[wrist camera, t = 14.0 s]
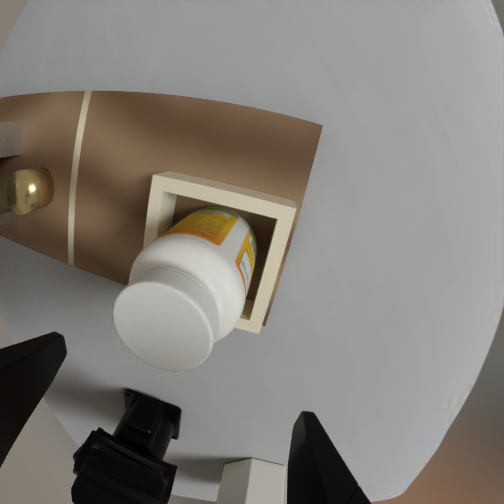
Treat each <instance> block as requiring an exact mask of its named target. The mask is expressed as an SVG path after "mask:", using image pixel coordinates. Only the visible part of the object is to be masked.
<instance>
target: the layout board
mask: <svg viewBox="0 0 504 504" xmlns="http://www.w3.org/2000/svg"><path fill="white" fill-rule="evenodd" d="M21 121H25V126H24V133H23V141H22V150H21V155H15V156H9V157H2V158H0V206H3V207H6V208H9V209H11V207H10V205H9V202H8V198H7V184H8V180H9V178H10V176H11V174H12V173H13V172H15V171H19V170H24V169H29V168H35V167H45V168H47V169H48V170H49V172H50V173H51V175H52V178H53V181H54V195H53V198H52V201H51V203H50V204H49V205H48V206H46V207H44V208H41V209H38V210H35V211H32V212H30V213H27V214H24V215H19V219H17V220H15V221H12V222H9V223H7V224H4V225H2V226H0V235H1V236H4V237H6V238H8V239H10V240H12V241H15V242H17V243H19V244H21V245H24V246H26V247H28V248H31V249H33V250H35V251H38V252H40V253H43V254H45V255H47V256H50V257H52V258H55V259H57V260H60V261H62V262H65V263H67V264H68V265H71V266H73V267H74V266H75V267H78V268H80V269H83V270H86V271H88V272H91V273H94V274H96V275H99V276H102V277H105V278H107V279H110V280H113V281H116V282H119V283H122V284H124V285H128V284H129V277H130V272H131V269H132V266H133V263H134V261H135V260H136V258H137V256H138V255H139V254H140V252H141V251H142V250H143V245H144V235H145V227H146V219H147V211H148V204H149V197H150V190H151V184H152V178H153V175H154V174H159V173H164V172H169V171H170V172H175V173H180V174H185V175H189V176H194V177H199V178H203V179H208V180H212V181H216V182H221V183H225V184H229V185H234V186H238V187H242V188H246V189H250V190H254V191H258V192H262V193H266V194H270V195H274V196H277V197H281V198H285V199H289V200H292V201H295V204H296V212H295V216H294V219H293V223H292V227H291V230H290V234H289V237H288V240H287V244H286V247H285V251H284V254H283V258H282V261H281V264H280V268H279V271H278V274H277V278H276V281H275V284H274V288H273V291H272V294H271V298H270V301H269V304H268V307H267V310H266V314H265V317H264V320H263V323H262V325H263V326H265V324H266V321H267V318H268V315H269V312H270V309H271V306H272V302H273V299H274V296H275V293H276V290H277V286H278V283H279V280H280V277H281V273H282V270H283V267H284V263H285V260H286V257H287V253H288V250H289V247H290V243H291V240H292V236H293V233H294V229H295V226H296V222H297V219H298V215H299V212H300V208H301V205H302V201H303V198H304V194H305V191H306V187H307V183H308V180H309V176H310V172H311V168H312V165H313V161H314V157H315V153H316V150H317V146H318V142H319V138H320V134H321V130H322V126H323V125H320V124H316V123H313V122H309V121H306V120H302V119H298V118H294V117H291V116H287V115H283V114H279V113H274V112H270V111H266V110H261V109H256V108H252V107H247V106H242V105H236V104H231V103H225V102H219V101H213V100H207V99H200V98H192V97H184V96H176V95H166V94H155V93H142V92H123V91H66V92H49V93H36V94H26V95H18V96H10V97H3V98H0V122H21ZM207 207H220V208H224V209H228V210H230V211H233V212H235V213H236V214H238V215H239V216H241V217H242V218H243V219H244V220H245V221H246V222H247V223H248V224H249V226H250V227H251V229H252V231H253V233H254V236H255V238H256V243H257V256H256V262H255V266H254V270H253V274H252V277H251V281H250V285H249V289H248V293H247V296H246V299H247V300H251V301H254V299H255V295H256V292H257V288H258V285H259V281H260V277H261V274H262V270H263V266H264V263H265V259H266V256H267V252H268V248H269V245H270V241H271V237H272V233H273V230H274V226H275V222H276V219H275V218H271V217H268V216H264V215H260V214H256V213H252V212H248V211H244V210H240V209H236V208H232V207H228V206H224V205H220V204H216V203H212V202H208V201H204V200H199V199H195V198H191V197H187V196H182V195H178V194H177V197H176V203H175V209H174V215H173V221H172V227H173V226H174V225H176V224H177V223H178V222H180V221H181V220H183V219H184V218H185V217H187V216H188V215H190V214H191V213H193V212H195V211H197V210H200V209H203V208H207Z"/></svg>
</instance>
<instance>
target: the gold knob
mask: <svg viewBox="0 0 504 504" xmlns="http://www.w3.org/2000/svg"><path fill="white" fill-rule="evenodd" d="M53 195H54V181H53V178H52V175H51V173H50V172H49V170H48V169H47V168H45V167H35V168H29V169H24V170H19V171H15V172H13V173H12V174H11V176H10V178H9V180H8V184H7V198H8V202H9V205H10V207H11V209H12V211H13V212H14V213H15V214H17V215H24V214H27V213H30V212H32V211H35V210H38V209H41V208H44V207H46V206H48V205H49V204H50V203H51V201H52V198H53Z"/></svg>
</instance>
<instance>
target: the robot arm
mask: <svg viewBox="0 0 504 504" xmlns="http://www.w3.org/2000/svg"><path fill="white" fill-rule="evenodd" d="M66 355H67V349H66V344H65V339H64V336H63V335H61V334H59V333H57V332H52V333H49V334H45V335H42V336H39V337H36V338H33V339H30V340H27V341H24V342H21V343H17V344H14V345H11V346H8V347H5V348H2V349H0V467H1V465H2V464H3V462H4V460H5V458H6V456H7V454H8V452H9V451H10V449H11V447H12V445H13V443H14V442H15V440H16V439H17V437H18V435H19V434H20V432H21V430H22V428H23V427H24V425H25V424H26V422H27V420H28V419H29V417H30V416H31V414H32V412H33V411H34V409H35V408H36V406H37V405H38V403H39V402H40V400H41V399H42V397H43V396H44V394H45V393H46V391H47V390H48V388H49V386H50V385H51V383H52V381H53V380H54V378H55V376H56V374H57V372H58V370H59V368H60V366H61V365H62V363H63V361H64V359H65V357H66ZM124 397H125V406H126V412H125V414H124V415H123V417H122V419H121V421H120V422H119V424H118V426H117V428H116V430H115V431H114V433H113V435H110V434H109V433H107V432H105V431H104V430H103V429H102V428H100V427H99V428H98V429H97V431H93V430H92V432H91V433H90V435H89V437H88V438H87V440H86V441H85V442H84V444H83V445H82V446H81V447H80V448H79V449H78V450H77V451H76V452H75V453H74V455H73V459H74V462H75V464H74V469H73V473H74V474H76V475H77V477H76V479H75V481H74V484H73V486H72V488H71V494H72V502H73V503H74V504H167V503H168V501H169V497H170V494H171V491H172V486H173V482H174V478H175V474H176V470H177V466H176V465H173V464H172V465H171V464H169V463H167V462H164V461H163V458H164V455H165V453H166V450H167V448H168V445H169V442H170V440H171V438H172V439H178V437H179V429H180V420H181V412H182V411H181V409H180V408H178V407H175V406H172V405H169V404H166V403H163V402H160V401H158V400H155V399H152V398H149V397H147V396H144V395H141V394H139V393H136V392H134V391H131V390H129V389H126V390H125V392H124ZM287 504H371V502H370V501H369V499H368V498H367V497H366V495H365V494H364V492H363V491H362V489H361V487H360V486H358V483H357V481H356V480H355V478H354V477H353V475H352V473H351V472H350V470H349V469H348V467H347V465H346V464H345V462H344V461H343V459H342V457H341V456H340V454H339V453H338V451H337V449H336V448H335V446H334V445H333V443H332V441H331V440H330V438H329V436H328V435H327V433H326V431H325V430H324V428H323V426H322V425H321V423H320V421H319V420H318V418H317V417H316V415H315V413H313V412H309V411H302V412H301V413H300V415H299V417H298V419H297V420H296V422H295V424H294V427H293V432H292V439H291V446H290V453H289V460H288V476H287Z"/></svg>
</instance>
